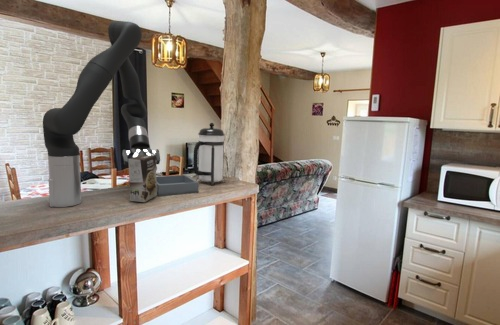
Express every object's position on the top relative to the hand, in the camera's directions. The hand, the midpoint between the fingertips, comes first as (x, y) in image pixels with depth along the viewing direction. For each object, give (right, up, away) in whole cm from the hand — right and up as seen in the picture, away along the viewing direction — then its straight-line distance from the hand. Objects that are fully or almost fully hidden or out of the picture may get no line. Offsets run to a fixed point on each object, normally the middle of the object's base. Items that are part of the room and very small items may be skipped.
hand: (144, 172), depth 112 cm
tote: (+7, -8, +17) cm, 20 cm away
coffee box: (0, -10, 0) cm, 10 cm away
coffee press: (+21, -7, +33) cm, 40 cm away
